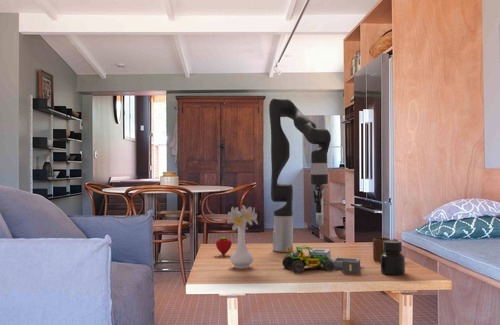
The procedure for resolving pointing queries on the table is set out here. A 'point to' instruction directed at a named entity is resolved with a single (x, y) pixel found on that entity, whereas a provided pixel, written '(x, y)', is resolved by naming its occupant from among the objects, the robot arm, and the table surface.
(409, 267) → the table surface
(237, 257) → the flower vase
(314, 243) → the table surface
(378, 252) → the mug
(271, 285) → the table surface
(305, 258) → the motor vehicle
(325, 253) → the socket
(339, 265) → the tray
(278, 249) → the robot arm
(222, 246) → the strawberry
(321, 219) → the pin
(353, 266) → the block
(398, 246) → the ink bottle
